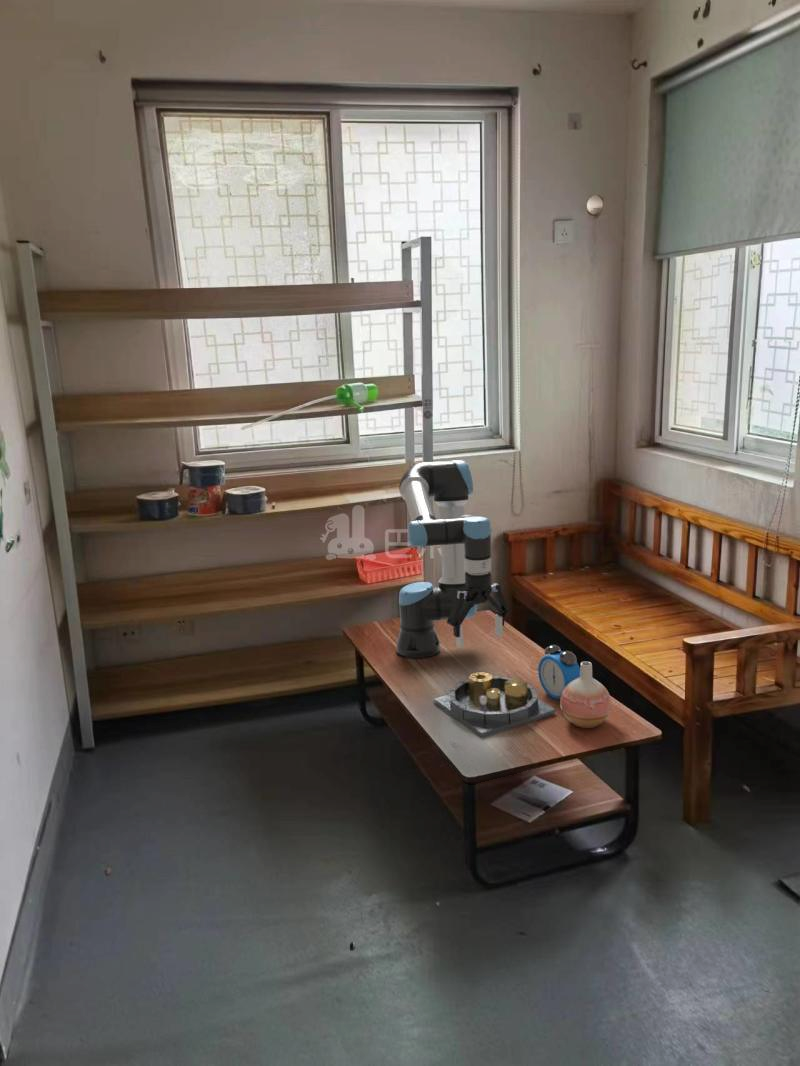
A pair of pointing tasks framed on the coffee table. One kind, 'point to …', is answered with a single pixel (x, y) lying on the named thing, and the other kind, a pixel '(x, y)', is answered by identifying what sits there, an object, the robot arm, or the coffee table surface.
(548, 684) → the alarm clock
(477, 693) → the octagonal brass tube
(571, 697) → the vase
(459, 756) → the coffee table surface
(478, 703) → the carrier
